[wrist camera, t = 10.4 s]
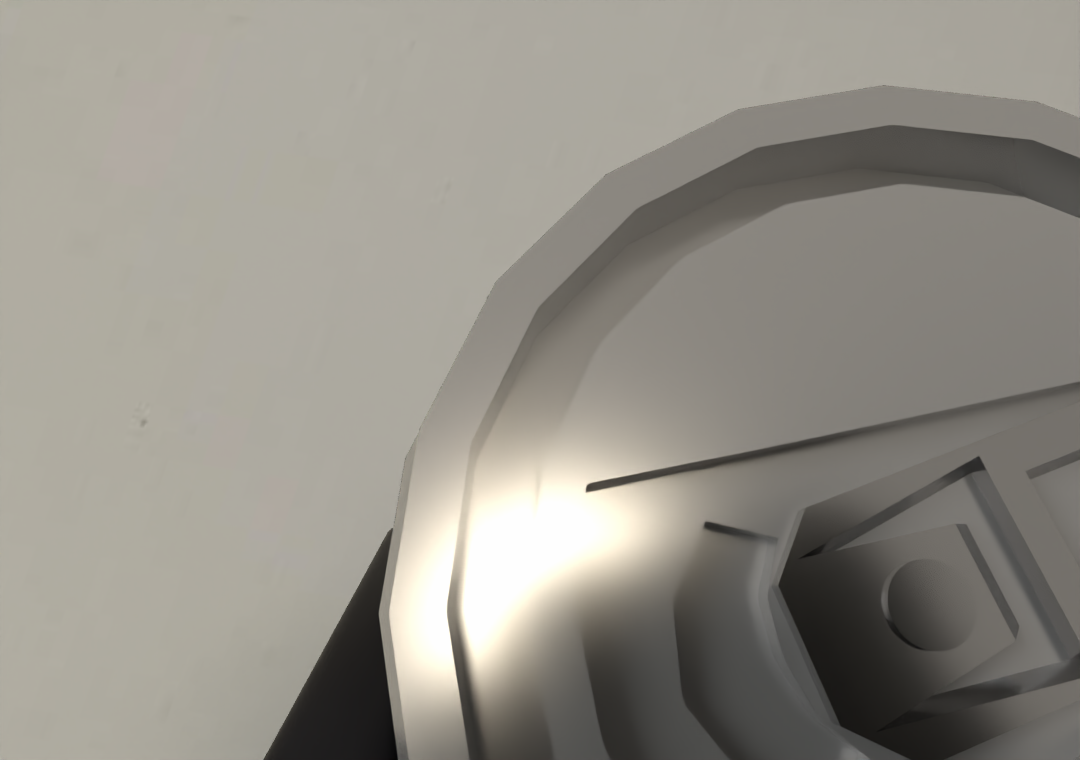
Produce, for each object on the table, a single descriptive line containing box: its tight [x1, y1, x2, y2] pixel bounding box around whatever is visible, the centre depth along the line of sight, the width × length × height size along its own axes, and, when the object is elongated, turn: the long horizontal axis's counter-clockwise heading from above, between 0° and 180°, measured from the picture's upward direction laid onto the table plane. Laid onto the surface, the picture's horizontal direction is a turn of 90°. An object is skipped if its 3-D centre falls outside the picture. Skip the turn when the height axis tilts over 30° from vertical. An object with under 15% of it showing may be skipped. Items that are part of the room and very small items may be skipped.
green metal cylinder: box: [379, 85, 1080, 760], centre depth 9 cm, size 5×5×12 cm
